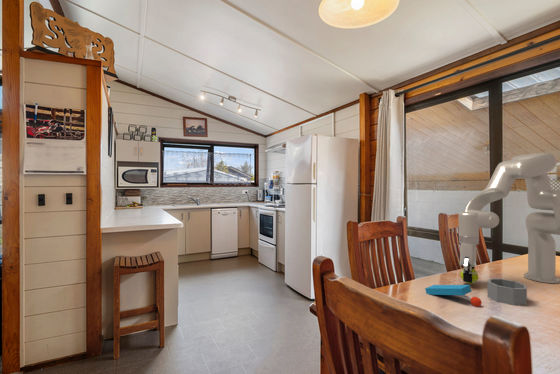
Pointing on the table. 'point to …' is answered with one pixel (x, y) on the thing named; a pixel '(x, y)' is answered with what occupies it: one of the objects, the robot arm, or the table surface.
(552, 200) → the robot arm
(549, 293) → the table surface
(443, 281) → the table surface
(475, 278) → the tennis ball
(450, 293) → the lever
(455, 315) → the table surface
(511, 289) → the gray octagonal bowl
